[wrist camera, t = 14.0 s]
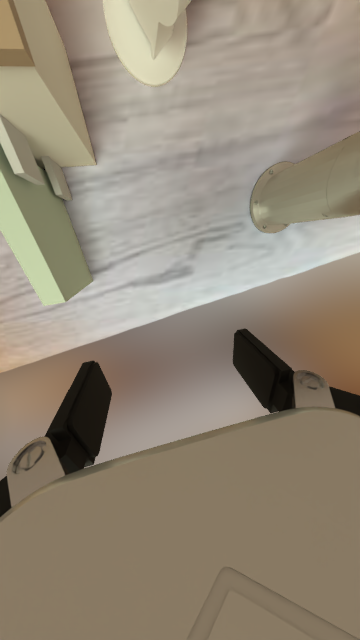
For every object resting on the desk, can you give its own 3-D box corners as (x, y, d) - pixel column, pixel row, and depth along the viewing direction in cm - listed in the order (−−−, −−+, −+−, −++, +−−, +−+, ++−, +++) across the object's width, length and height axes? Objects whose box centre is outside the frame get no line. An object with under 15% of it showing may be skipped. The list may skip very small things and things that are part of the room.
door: (53, 177, 27) (-23, 123, 15) (93, 280, 35) (65, 302, 23) (27, 179, 26) (-75, 125, 14) (73, 284, 35) (34, 307, 23)
